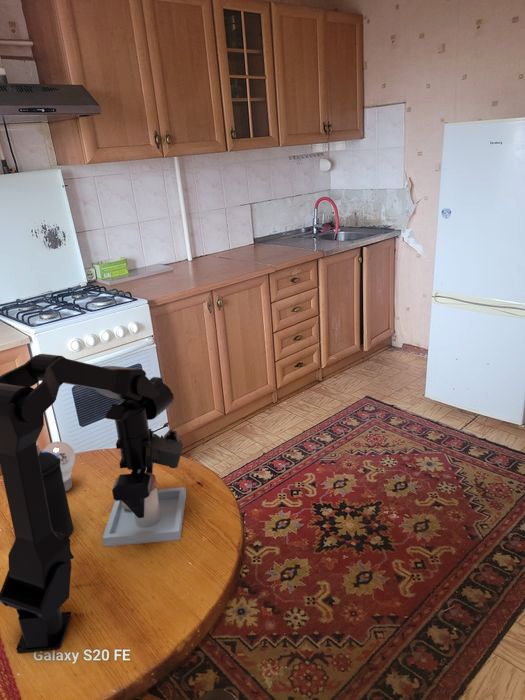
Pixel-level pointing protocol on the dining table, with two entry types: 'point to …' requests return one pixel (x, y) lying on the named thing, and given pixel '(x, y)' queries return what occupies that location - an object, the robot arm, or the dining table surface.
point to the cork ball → (125, 506)
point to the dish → (167, 529)
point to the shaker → (150, 507)
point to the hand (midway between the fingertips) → (145, 502)
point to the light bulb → (63, 460)
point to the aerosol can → (55, 493)
